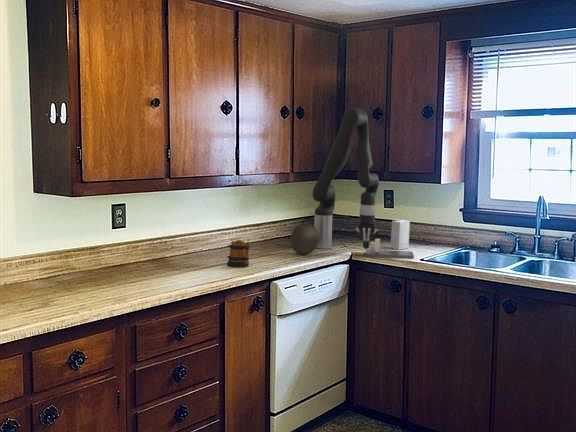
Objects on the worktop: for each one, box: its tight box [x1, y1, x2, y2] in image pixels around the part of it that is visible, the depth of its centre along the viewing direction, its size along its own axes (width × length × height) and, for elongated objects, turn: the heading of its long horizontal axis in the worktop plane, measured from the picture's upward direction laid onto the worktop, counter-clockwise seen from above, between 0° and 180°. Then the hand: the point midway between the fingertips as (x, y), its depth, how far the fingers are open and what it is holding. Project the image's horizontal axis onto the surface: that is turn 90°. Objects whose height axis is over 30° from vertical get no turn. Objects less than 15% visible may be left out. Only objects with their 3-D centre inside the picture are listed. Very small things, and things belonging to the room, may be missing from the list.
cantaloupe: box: [290, 223, 320, 256], centre depth 311 cm, size 14×14×15 cm
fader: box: [374, 238, 381, 252], centre depth 315 cm, size 2×3×6 cm
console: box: [365, 241, 415, 259], centre depth 315 cm, size 23×12×6 cm, turn 83°
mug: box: [226, 239, 251, 269], centre depth 280 cm, size 13×10×12 cm
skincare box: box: [390, 219, 411, 251], centre depth 336 cm, size 8×6×15 cm
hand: (365, 248), depth 316 cm, fingers closed
